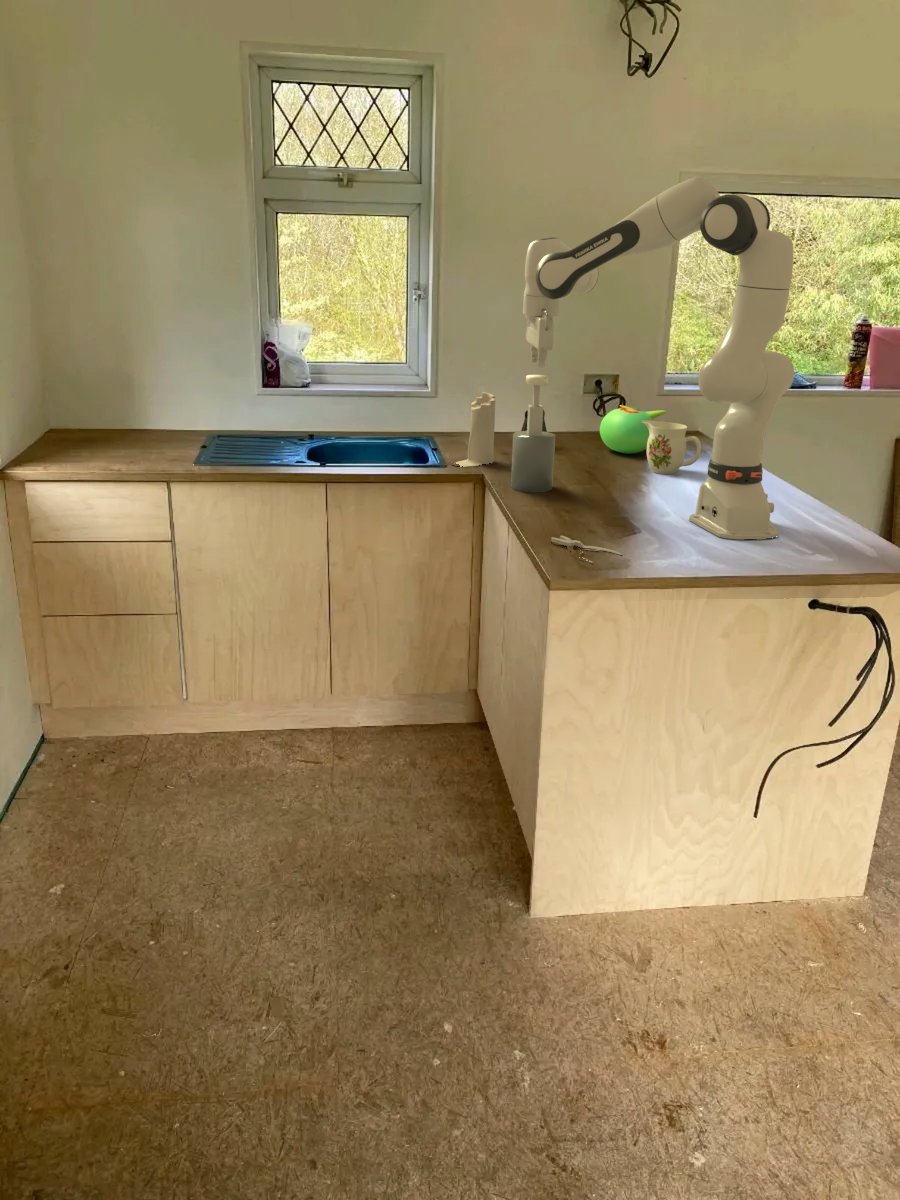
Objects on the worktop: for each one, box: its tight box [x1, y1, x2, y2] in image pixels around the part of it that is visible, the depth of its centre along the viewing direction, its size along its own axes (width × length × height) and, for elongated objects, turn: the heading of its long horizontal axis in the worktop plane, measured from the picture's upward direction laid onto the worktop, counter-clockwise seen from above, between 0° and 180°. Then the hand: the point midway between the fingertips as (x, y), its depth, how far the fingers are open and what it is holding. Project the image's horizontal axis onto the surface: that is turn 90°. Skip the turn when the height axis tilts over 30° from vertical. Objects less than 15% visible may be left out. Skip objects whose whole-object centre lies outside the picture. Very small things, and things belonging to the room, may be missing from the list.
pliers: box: [550, 535, 623, 564], centre depth 197 cm, size 10×2×15 cm
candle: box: [455, 391, 496, 468], centre depth 268 cm, size 7×14×20 cm, turn 130°
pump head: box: [525, 374, 549, 407], centre depth 238 cm, size 6×6×9 cm
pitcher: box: [642, 420, 702, 475], centre depth 263 cm, size 11×18×14 cm, turn 58°
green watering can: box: [599, 404, 667, 455], centre depth 287 cm, size 18×17×15 cm
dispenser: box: [510, 404, 556, 493], centre depth 243 cm, size 11×11×22 cm
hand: (537, 364), depth 235 cm, fingers open, 8 cm apart
